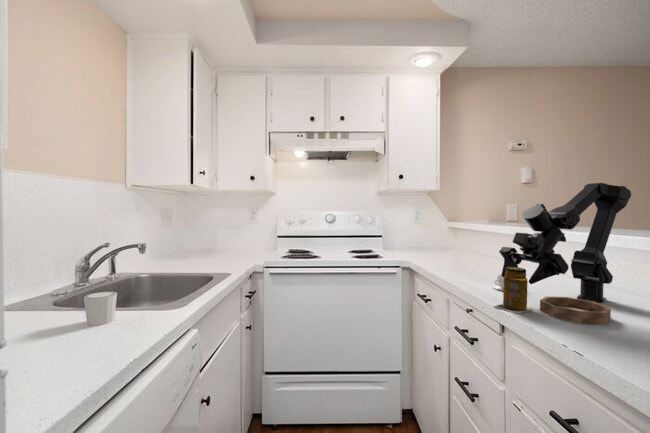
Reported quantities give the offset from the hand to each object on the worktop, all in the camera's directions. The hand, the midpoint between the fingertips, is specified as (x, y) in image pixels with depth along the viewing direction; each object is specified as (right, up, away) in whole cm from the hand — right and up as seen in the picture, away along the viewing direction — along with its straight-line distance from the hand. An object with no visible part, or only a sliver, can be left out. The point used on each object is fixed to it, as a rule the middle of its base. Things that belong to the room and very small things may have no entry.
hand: (515, 279), depth 92 cm
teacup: (+11, -9, +22) cm, 26 cm away
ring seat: (+13, -9, -6) cm, 17 cm away
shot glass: (-114, -8, -13) cm, 115 cm away
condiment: (-1, -9, 0) cm, 9 cm away
